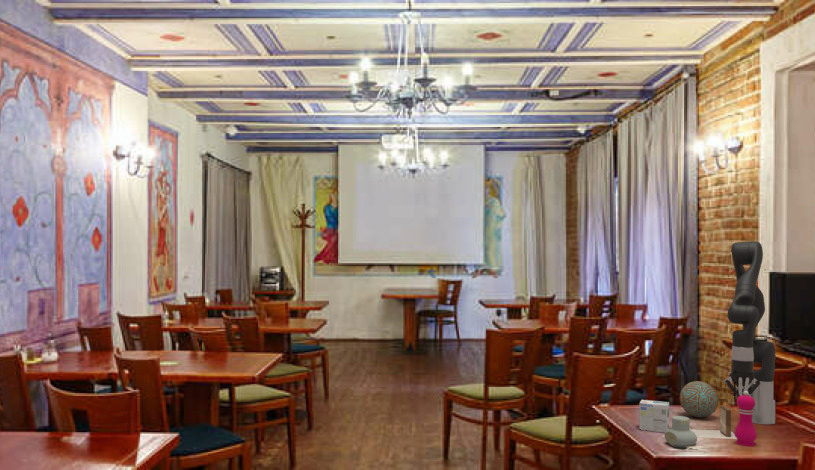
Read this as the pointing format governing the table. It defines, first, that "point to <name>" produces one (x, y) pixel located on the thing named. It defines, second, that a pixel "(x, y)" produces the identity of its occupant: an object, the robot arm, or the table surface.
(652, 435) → the table surface
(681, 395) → the decorative sphere
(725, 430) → the wooden block
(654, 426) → the light bulb box
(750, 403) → the pepper mill
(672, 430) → the air freshener
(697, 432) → the board
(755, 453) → the table surface
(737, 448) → the table surface
